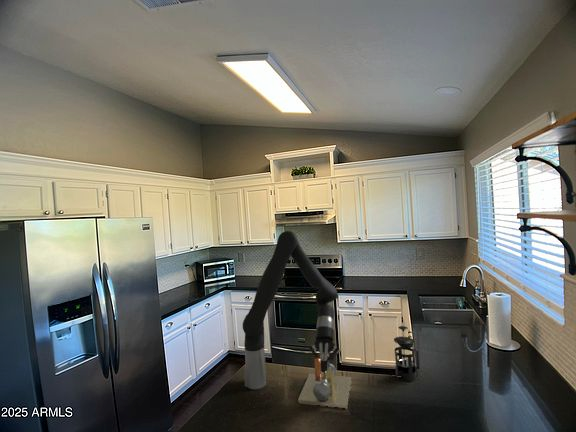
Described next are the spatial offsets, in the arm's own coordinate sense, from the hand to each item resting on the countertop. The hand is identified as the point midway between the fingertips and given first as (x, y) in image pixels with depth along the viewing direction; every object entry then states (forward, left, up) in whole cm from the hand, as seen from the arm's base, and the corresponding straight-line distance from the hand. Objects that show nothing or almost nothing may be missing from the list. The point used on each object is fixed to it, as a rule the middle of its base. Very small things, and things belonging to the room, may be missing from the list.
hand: (323, 371), depth 119 cm
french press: (+33, +34, -16) cm, 50 cm away
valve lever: (-2, +6, -4) cm, 7 cm away
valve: (-2, +14, -16) cm, 21 cm away
